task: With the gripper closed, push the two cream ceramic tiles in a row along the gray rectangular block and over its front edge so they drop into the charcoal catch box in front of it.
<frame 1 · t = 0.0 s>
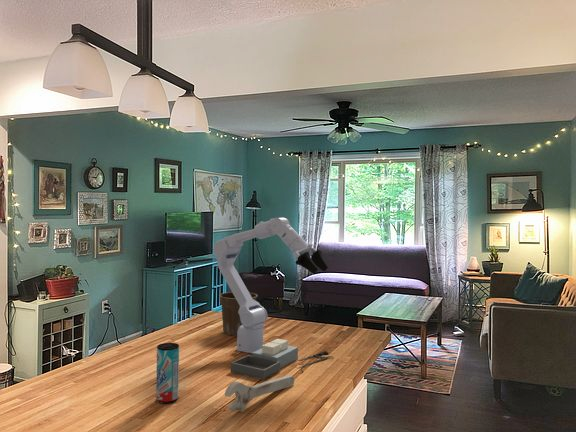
hand: (321, 270, 160), 32 cm above the table, tool tilted 50°, fingers open, 7 cm apart
tile back: (279, 348, 165), point 4 cm above the table, touching gray rectangular block
tile front: (270, 352, 160), point 4 cm above the table, touching gray rectangular block
beverage can: (167, 400, 129), on the table
wrench: (262, 400, 131), on the table
hacksaw: (312, 364, 162), on the table
gray rectangular block: (275, 361, 163), on the table
plant pot: (237, 332, 200), on the table
catch box: (255, 371, 152), on the table
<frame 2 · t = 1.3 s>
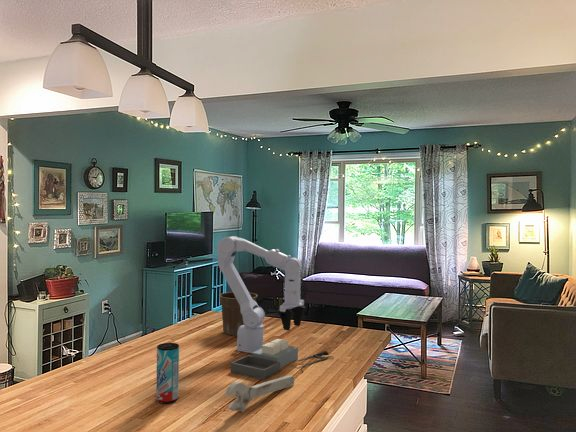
hand: (291, 327, 172), 9 cm above the table, tool pointing down, fingers open, 7 cm apart
hacksaw: (312, 364, 162), on the table, touching gray rectangular block
everything else where it was.
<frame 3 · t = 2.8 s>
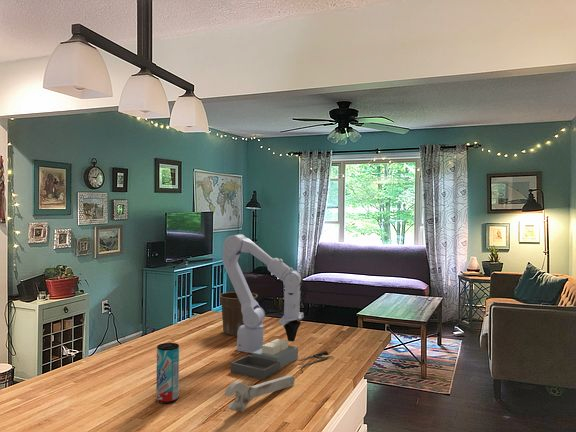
hand: (291, 340, 172), 5 cm above the table, tool pointing down, fingers closed
hacksaw: (312, 364, 162), on the table
everything else where it was.
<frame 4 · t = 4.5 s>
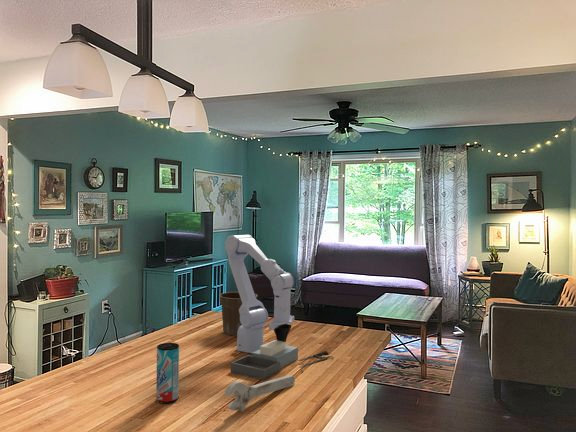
hand: (281, 345, 166), 5 cm above the table, tool pointing down, fingers closed
tile back: (276, 349, 163), point 4 cm above the table, touching gripper, tile front
tile front: (269, 352, 159), point 4 cm above the table, touching tile back
everything else where it was.
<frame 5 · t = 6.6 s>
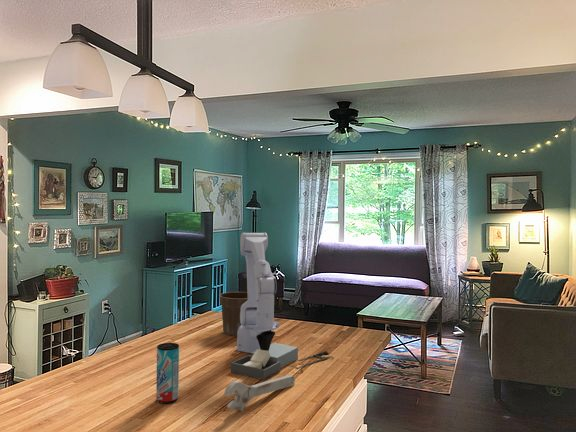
hand: (264, 353, 157), 5 cm above the table, tool pointing down, fingers closed, pressing on tile back
tile back: (261, 360, 155), point 3 cm above the table, tilted 33°, touching gripper, tile front
tile front: (252, 363, 151), point 3 cm above the table, tilted 180°, touching catch box, tile back
hacksaw: (312, 364, 162), on the table, touching gray rectangular block
everything else where it was.
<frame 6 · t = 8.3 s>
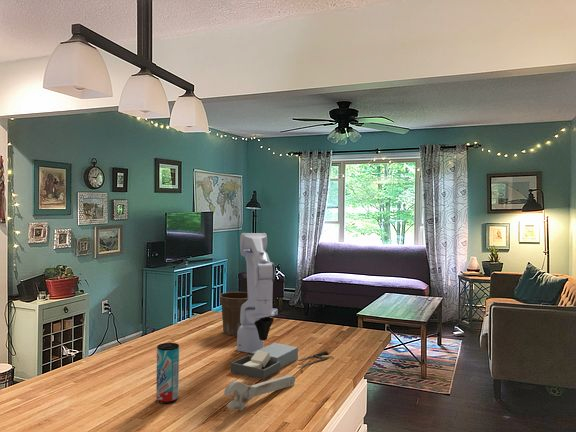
hand: (263, 339, 156), 9 cm above the table, tool pointing down, fingers closed
tile back: (261, 361, 155), point 2 cm above the table, tilted 26°, touching catch box, tile front
hacksaw: (312, 364, 162), on the table
everything else where it was.
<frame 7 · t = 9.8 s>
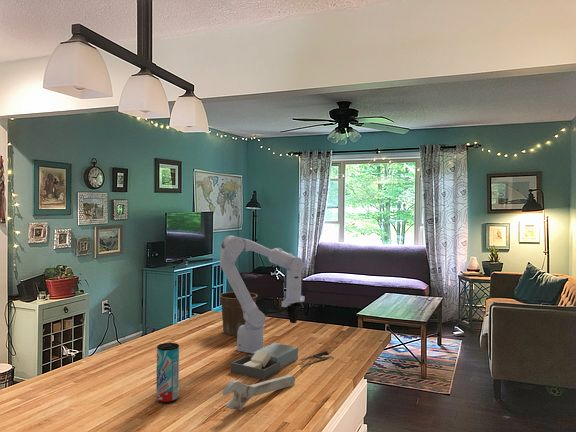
hand: (293, 322, 180), 9 cm above the table, tool pointing down, fingers closed
nothing on the table moved.
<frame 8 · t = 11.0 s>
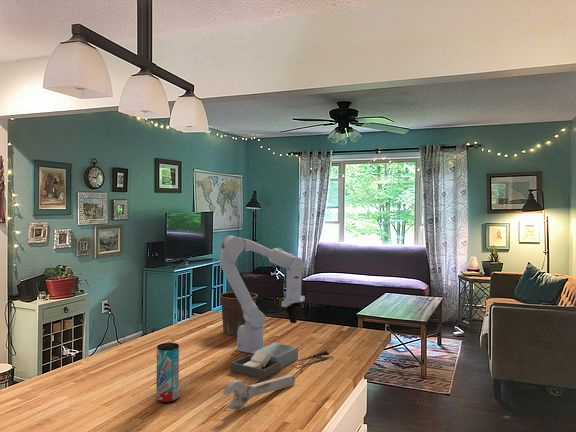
hand: (293, 322, 180), 9 cm above the table, tool pointing down, fingers closed
hacksaw: (312, 364, 162), on the table, touching gray rectangular block
everything else where it was.
at the end: tile front inside the target area on the catch box (1.9 cm from its centre), point 3.0 cm above the catch box's base; tile back inside the target area on the catch box (3.1 cm from its centre), point 2.5 cm above the catch box's base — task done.
